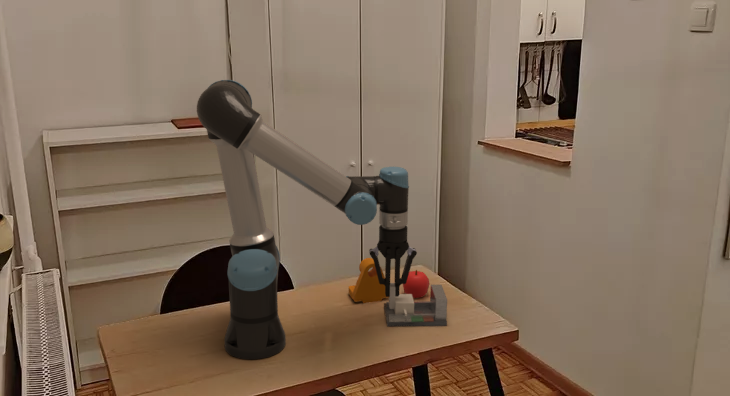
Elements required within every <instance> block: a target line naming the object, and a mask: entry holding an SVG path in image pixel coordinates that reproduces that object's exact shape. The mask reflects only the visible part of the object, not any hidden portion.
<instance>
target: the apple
mask: <svg viewBox="0 0 730 396" xmlns="http://www.w3.org/2000/svg"><path fill="white" fill-rule="evenodd" d="M402 287H403V292H404V294H412V297H413V299H420V298H423V297H424V296H426V294H428V291H429V287H430V279H429V278H428V276H427V275H426V274H425V272H424V271H420V270H418V269H416V270H412V271H411V270H410V271H409V275H408V278H407V282H406V284H402Z"/></svg>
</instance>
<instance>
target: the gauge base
mask: <svg viewBox="0 0 730 396" xmlns="http://www.w3.org/2000/svg"><path fill="white" fill-rule="evenodd" d="M429 293H430V296H429V301H426V300H425V301H420V300H419V301H414V314H407V316H405V315H404V314H395V312H394V309H390V308H389V301H386V302H384V303H383V309H384V316H385V321H386V326H387V327H388V328H389V327H446V326H447V325H448V321H447V314H448V298H447V295H446V293H445V290H444V288H443V284H430V291H429Z"/></svg>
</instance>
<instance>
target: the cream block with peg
mask: <svg viewBox="0 0 730 396" xmlns="http://www.w3.org/2000/svg"><path fill="white" fill-rule="evenodd" d="M414 302H415V301H414V298H413V297H412V294H406V293H399V296H398V297H395V309H394V312H395V314H404V315H405V316H407V314H414Z"/></svg>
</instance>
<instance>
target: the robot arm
mask: <svg viewBox="0 0 730 396" xmlns="http://www.w3.org/2000/svg"><path fill="white" fill-rule="evenodd" d="M196 114H197V118H198V120H199V122H200V124H201V126H203V128H204V129H206V133H207V137H208V140H209V141H210V142H211V143H213V144H214V145H216V146H215V147H216V150H217V156H218V161H219V166H220V170H221V175H222V181H223V185H224V191H225V196H226V201H227V207H228V211H229V216H230V221H231V226H232V231H233V235H232V236H231V237H230V239H229V247H230V252H231V255H232V256H231V258H230V259H229V261H228V264H227V266H228V267H227V272H226V273H227V278H228V292H229V295H228V296H229V313H230V315H229V316H230V318H229V322H228V326H227V329H226V332H225V336H224V349H225V351H226V353H227V354H229V355H230V356H232V357H235V358H237V359H242V360H260V359H265V358H269V357H273V356H274V355H277V354H279V353H280V352H281V351H283V349H284V348H285V346H286V344H287V343H286V338H287V337H286V332H285V329H284V327H283V325H282V322H281V319H280V317H279V313H278V311H279V309H278V277H279V267H280V261H281V256H280V250H279V249H278V245H277V244H276V239H275V234H274V231H273V230H271V229H270V228H268V227H267V222H266V217H265V216H266V215H265V211H264V207H263V200H262V196H261V195H262V193H261V190H260V184H259V179H258V175H257V174H258V173H257V169H256V168H257V167H256V164H255V163H256V162H255V157H257V158H259V159H260V160H262V161H263V162H265V163H266V164H268V165H270V166H271V167H273V168H274V169H275V170H277V171H279V172H280V173H282V174H284V175H285V176H286V177H288V178H289V179H291V180H293V181H294V182H296V183H297V184H300V185H301V186H302V187H304V188H306V189H307V190H308V191H310V192H312V193H313V194H314V195H317V196H318V197H319V198H321V200H323V201H326V202H327V203H329V204H330V205H331V206H333V207H335V208H336V209H337V210H339V211H341V212H342V213H344V214H345V216H346V217H347V219H348V221H350V222H351V223H353V224H355V225H356V226H364V225H367V224H369V223H371V222H373V220H374V219H375V217H376V215H377V211H378V208H377V205H378V206H379V211H378V212H379V216H378V219H379V220H378V224H379V228H378V232H379V233H378V242H377V244H376V247H373V248H370V249H369V250H368V252H369V256H370V258H372V259H373V260H374V264H375V268H376V272H377V276H378V280H379V283H380V284H383V285H385V295H386V297H389V298H388V302H389V308H390V309H395V297H398V296H399V294H400V287H401V285H403V284H406V282H407V278H408V275H409V272H410V271H411V267H412V265H413V260H414V259H415V257H416V255H417V254H418V252H417V250H416V248H415V247H411V246H410V244H409V241H408V226H407V225H408V221H409V220H408V219H409V217H408V213H409V212H408V211H409V210H408V209H409V188H410V186H409V171H408V170H407V169H405V168H404V167H400V166H385V167H383V168H381V169H380V170H379V173H378V175H373V176H371V175H370V176H368V175H366V176H362V175H361V176H349V175H344V174H343V173H341V172H340V171H338V170H337V169H335V168H334V167H332V166H330V165H329V164H328V163H326V162H324V161H323V160H322V159H320V158H319V157H317V156H315V155H314V154H313V153H311V152H310V151H308V150H306V149H305V148H303V146H301V145H299V144H297V143H296V142H294V141H293V140H292V139H290V138H288V137H287V136H285V135H284V134H282V133H281V132H280V131H278V130H276V129H275V128H274V127H272V126H270V124H267V123H266V122H265V121H263V117H262V115H261V114H260V113H259V112H257V111H256V110H255V109H253V99H252V96H251V94H250V93H249V91H248V90H247V88H246V87H245V86H244V85H243V84H242V83H240V82H238V81H235V80H233V79H221V80H217V81H215V82H212V83H211V84H210V85H209V86H208V87H207V88H205V90H204V91H203V92H202V93H201V94H200V96H199V97H198V100H197V103H196ZM254 156H255V157H254ZM379 252H380V254H381V255H382V256H383V258H384V259H385V264H384V265H385V268H384V271H385V272H384V277H385V279H384V278H383V277H382V273H381V269H382V268H381V269H380V267H381V265H380V261H379ZM405 254H407V257H406V260H405V264H404V267H403V271H402V273H401V258H403V256H404V255H405ZM392 260H394V282H391V270H392V269H391V265H392V263H391V261H392ZM401 274H402V275H401Z"/></svg>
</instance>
